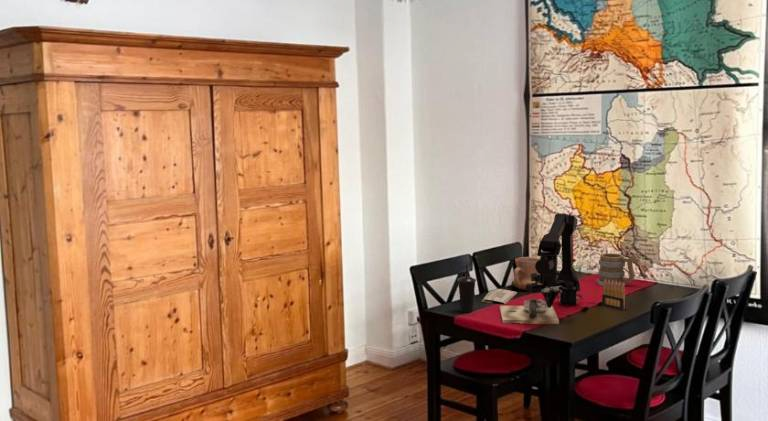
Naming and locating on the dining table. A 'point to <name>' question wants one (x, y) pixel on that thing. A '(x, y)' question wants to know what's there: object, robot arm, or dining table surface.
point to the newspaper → (499, 296)
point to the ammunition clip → (614, 295)
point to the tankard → (615, 268)
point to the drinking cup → (466, 292)
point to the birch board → (527, 316)
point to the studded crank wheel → (534, 307)
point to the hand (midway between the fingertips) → (549, 307)
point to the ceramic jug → (524, 271)
